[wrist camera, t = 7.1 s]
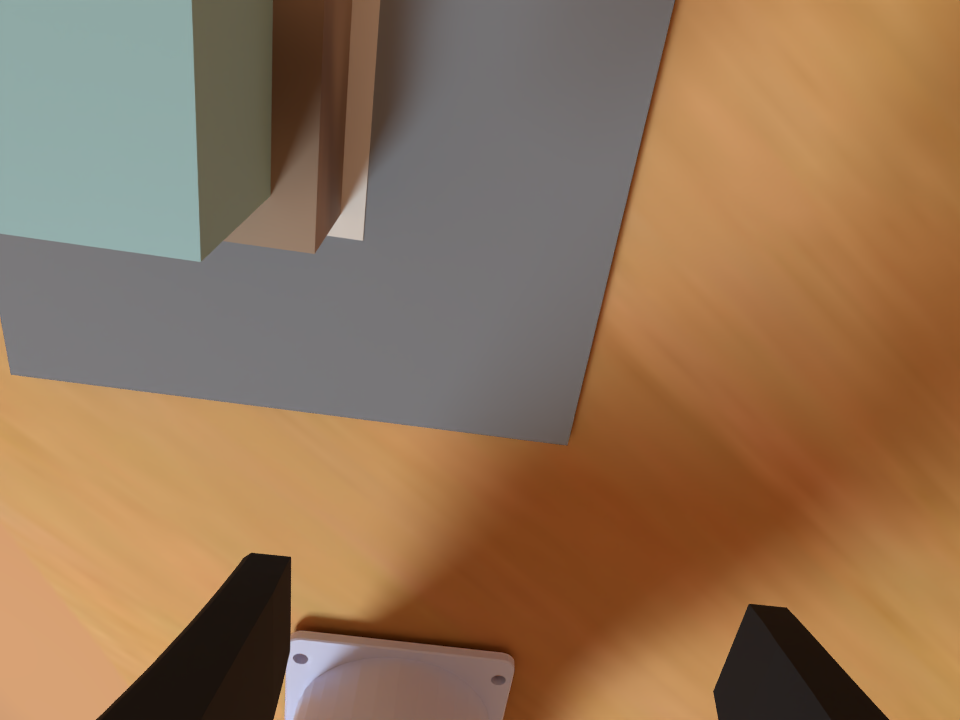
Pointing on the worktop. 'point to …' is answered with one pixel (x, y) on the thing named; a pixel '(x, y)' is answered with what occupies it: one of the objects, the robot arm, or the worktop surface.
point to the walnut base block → (304, 126)
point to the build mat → (395, 238)
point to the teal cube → (134, 121)
